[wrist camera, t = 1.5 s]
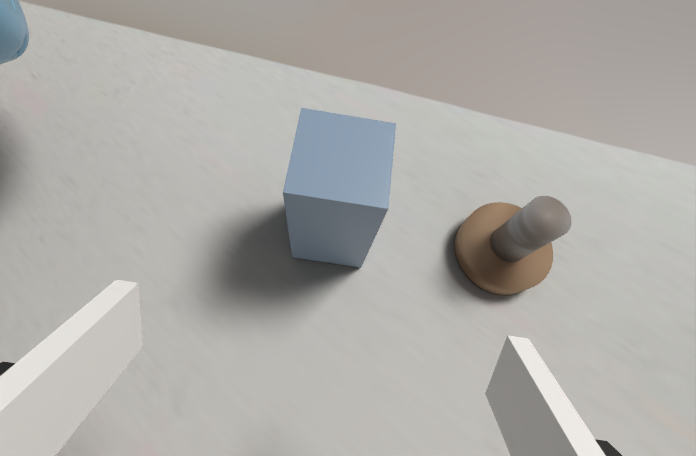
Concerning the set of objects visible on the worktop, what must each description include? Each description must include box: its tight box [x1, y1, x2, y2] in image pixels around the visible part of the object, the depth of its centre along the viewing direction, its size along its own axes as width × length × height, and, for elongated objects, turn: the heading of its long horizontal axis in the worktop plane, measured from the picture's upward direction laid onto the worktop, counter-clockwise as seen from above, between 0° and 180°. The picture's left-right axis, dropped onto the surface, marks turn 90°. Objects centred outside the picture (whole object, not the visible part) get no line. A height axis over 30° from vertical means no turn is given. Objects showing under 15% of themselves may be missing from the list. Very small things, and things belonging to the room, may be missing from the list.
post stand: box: [455, 196, 571, 295], centre depth 30 cm, size 8×8×8 cm
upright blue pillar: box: [283, 108, 396, 268], centre depth 28 cm, size 6×6×12 cm
